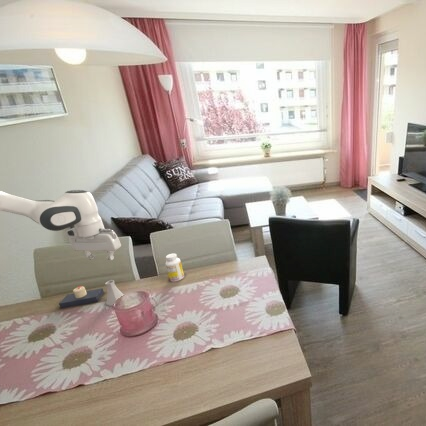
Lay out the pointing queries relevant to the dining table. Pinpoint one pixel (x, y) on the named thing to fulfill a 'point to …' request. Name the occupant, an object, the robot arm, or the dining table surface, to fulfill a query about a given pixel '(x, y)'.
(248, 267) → the dining table surface
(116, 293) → the flask
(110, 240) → the robot arm
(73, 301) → the control panel
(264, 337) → the dining table surface
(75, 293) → the small cream cake
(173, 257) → the supplement bottle
